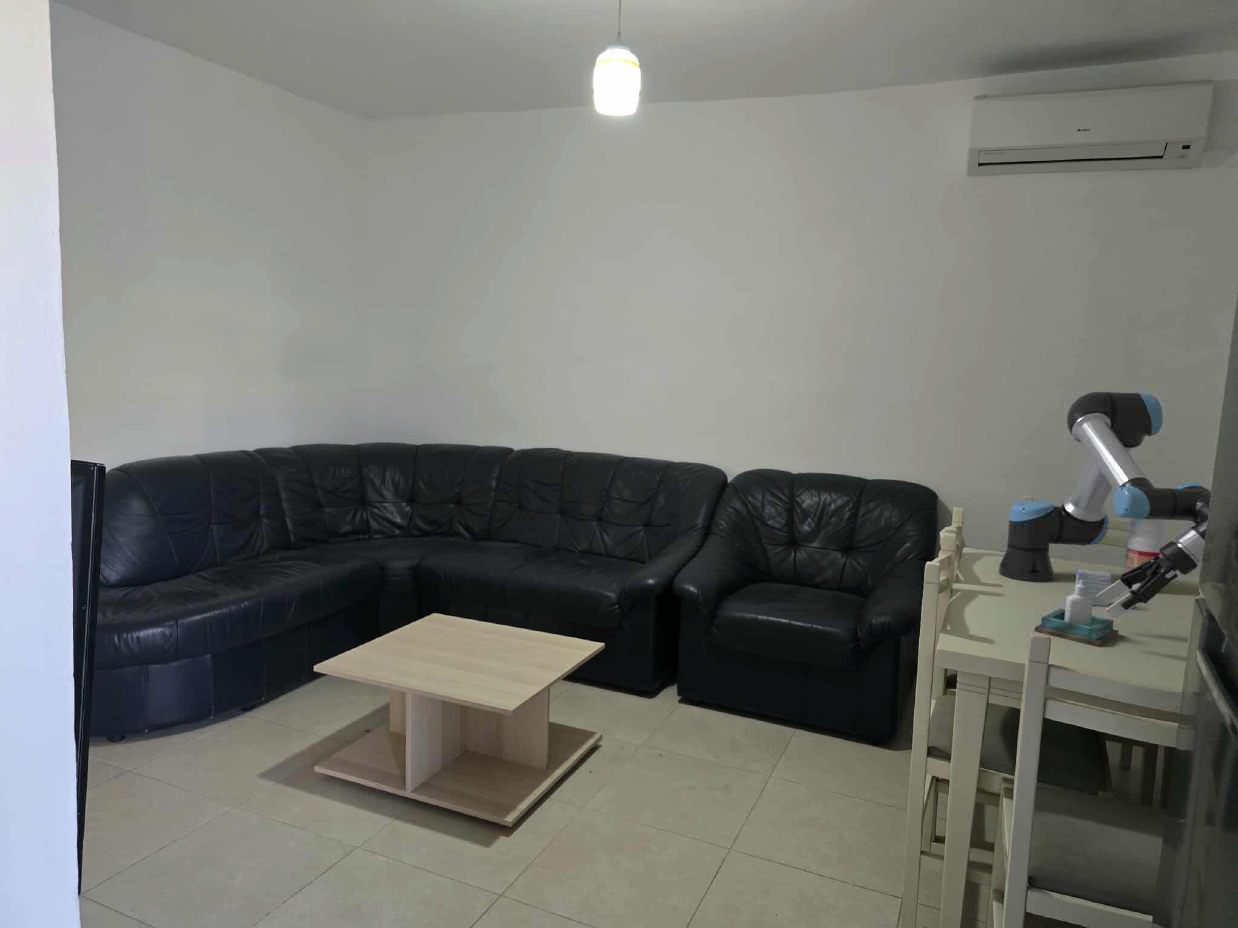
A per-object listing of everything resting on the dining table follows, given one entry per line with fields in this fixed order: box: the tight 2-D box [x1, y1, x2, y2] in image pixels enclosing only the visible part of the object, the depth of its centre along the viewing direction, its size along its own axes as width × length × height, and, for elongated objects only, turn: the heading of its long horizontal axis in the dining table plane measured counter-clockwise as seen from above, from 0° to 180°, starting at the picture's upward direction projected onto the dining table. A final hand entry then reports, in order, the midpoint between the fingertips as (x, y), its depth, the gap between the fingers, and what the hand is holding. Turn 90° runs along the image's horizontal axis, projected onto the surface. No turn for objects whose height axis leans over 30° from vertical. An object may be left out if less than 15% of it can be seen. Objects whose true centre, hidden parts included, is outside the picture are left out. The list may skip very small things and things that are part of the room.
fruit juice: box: [1123, 518, 1167, 591], centre depth 236 cm, size 9×9×28 cm
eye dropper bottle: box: [1064, 580, 1094, 627], centre depth 193 cm, size 4×6×12 cm
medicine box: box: [1075, 569, 1112, 608], centre depth 220 cm, size 8×4×9 cm, turn 65°
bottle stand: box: [1034, 608, 1119, 648], centre depth 194 cm, size 14×14×4 cm
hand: (1104, 607), depth 191 cm, fingers open, 13 cm apart
